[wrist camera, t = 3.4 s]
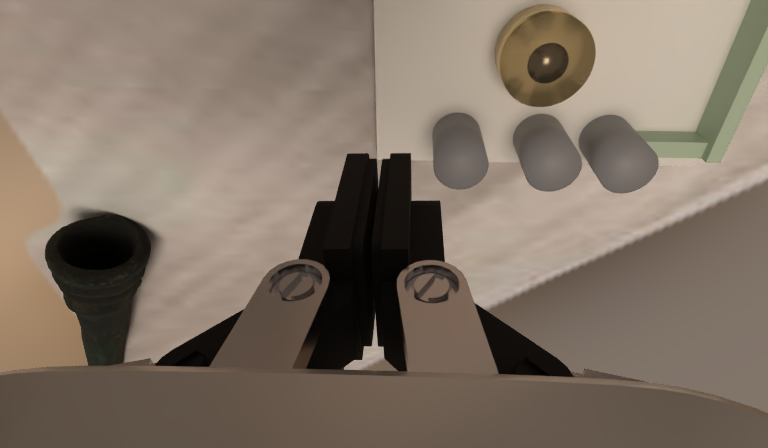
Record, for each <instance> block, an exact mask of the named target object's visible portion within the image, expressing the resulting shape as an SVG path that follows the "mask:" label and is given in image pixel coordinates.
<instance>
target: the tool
mask: <svg viewBox="0 0 768 448" xmlns="http://www.w3.org/2000/svg"><path fill="white" fill-rule="evenodd" d="M150 252H151V244H150V241H149V238H148V236H147V235H146V233H145V232H144V231H143V230H142V229H141V228H140V227H139V226H138V225H136V224H135V223H133V222H132V221H130V220H128V219H126V218H124V217H121V216H117V215H103V216H98V217H93V218H88V219H84V220H80V221H76V222H74V223H71V224H69V225H67V226H65V227H62V228H61V229H60V230H58V231H57V232H56V233H55V234H54V235H53V236H52V237H51V238H50V239H49V241H48V242H47V245H46V249H45V259H46V262H47V265H48V268H49V269H50V270H51V272H52V276H53V278H54V280H55V282H56V283H57V284H58V286H59V288H60V290H61V291H62V292H63V296H64V300H65V303H66V305H67V306H68V308H69V309H70V310H72V311H73V312H75V313H76V315H77V317H78V320H79V323H80V326H81V331H82V332H81V334H82V341H83V345H84V349H85V353H86V357H87V361H88V366H109V365H115V364H121V363H123V354H124V345H125V339H126V335H127V331H128V319H129V310H130V303H131V299H132V297H133V295H134V294H135V293H136V291H137V288H138V287H139V286H140V284H141V282H142V280H141V278H142V277H143V275H144V273H145V268H146V265H147V262H148V259H149V256H150Z"/></svg>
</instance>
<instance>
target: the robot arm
mask: <svg viewBox="0 0 768 448" xmlns="http://www.w3.org/2000/svg"><path fill="white" fill-rule="evenodd" d="M375 313H376V325H377V338H378V346H381V347H384V358H385V359H386V360H387V361H388V362H389V363H390V364H391V365H392V366H393V367H394V368H396V369H397V370H398V371H369V370H344V367H345V366H346V365H348V364H349V363H350V362H352V361H353V360H362V357H363V349H364V346H372V339H373V329H374V319H375ZM0 448H768V413H766V412H764V411H761V410H759V409H757V408H754V407H751V406H748V405H744V404H741V403H739V402H735V401H732V400H729V399H726V398H723V397H720V396H717V395H714V394H709V393H704V392H700V391H696V390H691V389H688V388H683V387H678V386H671V385H664V384H657V383H650V382H645V381H640V380H636V379H631V378H626V377H622V376H617V375H612V374H608V373H602V372H598V371H593V370H589V369H584V370H583V373H582V374H580V373H575V372H571V371H570V370H569V369H568V368H567V367H566V366H565V365H564V364H563V363H562V362H561V361H560V360H558V359H557V358H556V357H554V356H553V355H551V354H550V353H548V352H547V351H545V350H544V349H542V348H541V347H539V346H538V345H536V344H535V343H534V342H532V341H531V340H529V339H528V338H526V337H525V336H523V335H521V334H520V333H518V332H517V331H516V330H514V329H513V328H511V327H510V326H508V325H507V324H505V323H504V322H502V321H501V320H499V319H497V318H496V317H495V316H493V315H492V314H490V313H489V312H487V311H486V310H484V309H483V308H481V307H480V306H478V305H477V304H475V303H474V301H473V298H472V295H471V292H470V289H469V286H468V283H467V280H466V278H465V277H464V275H463V273H462V272H461V271H460V270H458V269H457V268H456V267H455V266H453V265H451V264H448V263H446V262H445V259H444V246H443V232H442V219H441V205H440V201H411V153H390V159H382V166H381V174H380V181H379V189H378V172H377V160H376V159H369V154H368V153H365V154H347V157H346V161H345V165H344V169H343V172H342V176H341V180H340V184H339V187H338V191H337V195H336V199H335V201H318V202H317V204H316V206H315V209H314V213H313V216H312V219H311V222H310V225H309V228H308V231H307V234H306V237H305V240H304V244H303V247H302V250H301V253H300V256H299V259H297V260H292V261H287V262H284V263H282V264H280V265H277V266H276V267H274V268H273V269H272V270H270V271H269V272H268V273H267V274H266V276H265V277H264V278H263V280H262V281H261V283H260V285H259V286H258V288H257V290H256V291H255V293H254V294H253V296H252V298H251V299H250V301H249V303H248V304H247V306H246V308H245V309H244V310H242V311H240V312H238V313H236V314H235V315H233V316H231V317H229V318H228V319H226V320H224V321H222V322H221V323H219V324H217V325H215V326H214V327H212V328H210V329H208V330H207V331H205V332H203V333H201V334H200V335H198V336H196V337H194V338H193V339H191V340H189V341H187V342H186V343H184V344H182V345H180V346H179V347H177V348H175V349H173V350H172V351H170V352H169V353H167V354H166V355H165V356H163V357H162V358H161V359H160V360H159V361H158V362H157V363H154V364H153V362H152V360H151V359H144V360H138V361H132V362H126V363H121V364H115V365H109V366H61V367H41V368H31V369H21V370H12V371H7V372H2V373H0Z"/></svg>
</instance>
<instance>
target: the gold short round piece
mask: <svg viewBox="0 0 768 448" xmlns="http://www.w3.org/2000/svg"><path fill="white" fill-rule="evenodd" d="M595 56H596V48H595V42H594V39H593V36H592V34H591V32H590V31H589V29H588V28H587V27H586V26H585V25H584V24H583V23H582V22H581V21H580V20H578V19H577V18H576V17H574V16H573V15H572V14H570V13H569V12H568V11H567V10H565V9H563V8H561V7H559V6H556V5H552V4H538V5H534V6H531V7H528V8H526V9H524V10H522V11H520V12H518V13H517V14H516V15H514V16H513V17H512V18H511V19H510V20H509V21H508V22H507V23H506V25H505V26H504V27H503V29H502V30H501V32H500V34H499V36H498V39H497V42H496V46H495V63H496V67H497V70H498V72H499V74H500V77H501V79H502V81H503V83H504V86H505V87H506V89H507V91H508V92H509V94H510V95H511V96H512V97H513V98H514V99H516V100H517V101H519V102H520V103H522V104H525V105H528V106H532V107H547V106H552V105H556V104H558V103H561V102H563V101H565V100H567V99H568V98H570V97H571V96H573V95H574V94H575V93H576V92H577V91H578V90H579V89H580V88H581V87H582V86H583V85H584V84H585V82H586V81H587V79H588V78H589V76H590V74H591V72H592V69H593V66H594V62H595Z"/></svg>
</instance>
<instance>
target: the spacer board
mask: <svg viewBox="0 0 768 448" xmlns="http://www.w3.org/2000/svg"><path fill="white" fill-rule="evenodd" d="M538 4H552V5H556V6H559V7H561V8H563V9H565V10H567V11H568V12H569V13H570V14H572V15H573V16H574V17H576V18H577V19H578V20H580V21H581V22H582V23H583V24H584V25H585V26H586V27H587V28H588V29H589V31H590V32H591V34H592V36H593V39H594V42H595V48H596V56H595V62H594V66H593V69H592V72H591V74H590V76H589V78H588V79H587V81H586V82H585V84H584V85H583V86H582V87H581V88H580V89H579V90H578V91H577V92H576V93H575V94H574V95H573V96H571V97H570V98H568V99H567V100H565V101H563V102H561V103H558V104H556V105H552V106H547V107H532V106H528V105H525V104H522V103H520V102H519V101H517V100H516V99H514V98H513V97H512V96H511V95H510V94H509V92H508V91H507V89H506V87H505V86H504V83H503V81H502V79H501V77H500V74H499V72H498V70H497V67H496V63H495V46H496V42H497V39H498V36H499V34H500V32H501V30H502V29H503V27H504V26H505V25H506V23H507V22H508V21H509V20H510V19H511V18H512V17H513V16H514V15H516V14H517V13H518V12H520V11H522V10H524V9H526V8H528V7H531V6H534V5H538ZM374 38H375V81H376V123H377V160H382V159H390V153H411V160H423V161H433V163H434V172H435V175H436V177H437V179H438V180H439V181H440V182H441V183H442V184H443V185H445V186H447V187H449V188H452V189H466V188H470V187H472V186H474V185H476V184H478V183H479V182H480V181H481V180H482V179H483V178H484V176H485V175H486V173H487V170H488V164H489V163H488V162H520V163H521V166H522V169H523V171H524V174H525V177H526V179H527V181H528V183H529V184H530V185H531V186H532V187H534V188H535V189H538V190H541V191H556V190H560V189H562V188H565V187H566V186H568V185H570V184H571V183H572V182H573V181H574V180H575V179H576V178H577V176H578V175H579V173H580V171H581V167H582V164H589V165H590V167H591V168H592V170H593V171H594V173H595V175H596V176H597V178H598V179H599V181H600V182H601V184H602V185H603V187H604V188H606V189H607V190H609V191H611V192H614V193H628V192H632V191H635V190H638V189H640V188H641V187H643V186H645V185H646V184H647V183H648V182H649V181H650V180H651V179H652V178H653V177H654V175H655V174H656V172H657V169H658V165H667V166H695V164H696V161H697V159H698V158H702V159H703V160H704V161H705V162H709V163H720V162H721V160H722V158H723V156H724V154H725V152H726V150H727V148H728V146H729V144H730V141H731V139H732V137H733V135H734V133H735V131H736V129H737V127H738V125H739V123H740V120H741V118H742V116H743V114H744V112H745V110H746V108H747V106H748V104H749V102H750V100H751V97H752V95H753V93H754V91H755V89H756V87H757V85H758V83H759V81H760V79H761V76H762V74H763V72H764V70H765V68H766V66H767V64H768V0H374Z"/></svg>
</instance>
